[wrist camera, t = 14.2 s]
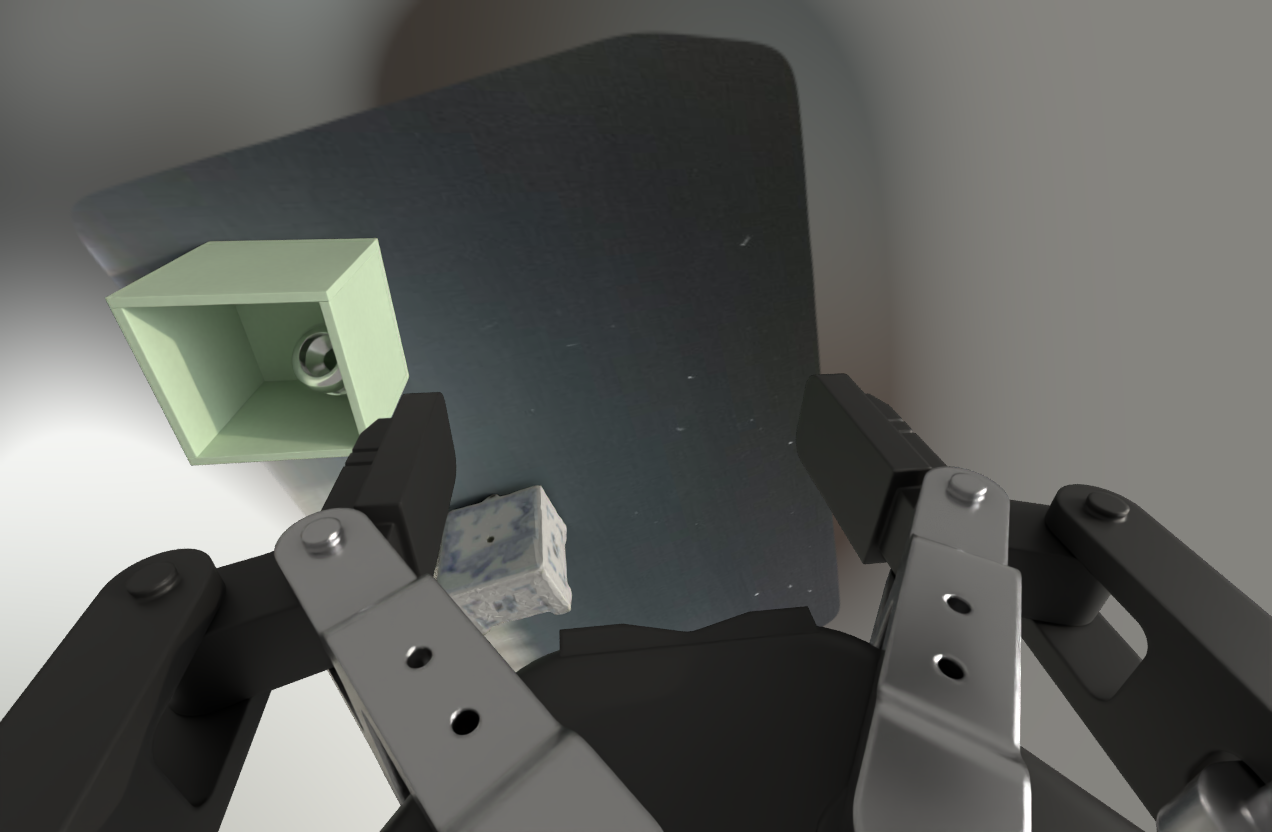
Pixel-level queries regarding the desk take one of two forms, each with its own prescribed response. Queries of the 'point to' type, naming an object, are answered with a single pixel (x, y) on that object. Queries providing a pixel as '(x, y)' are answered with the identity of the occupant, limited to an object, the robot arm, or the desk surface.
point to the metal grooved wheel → (317, 362)
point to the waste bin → (265, 346)
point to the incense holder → (505, 558)
